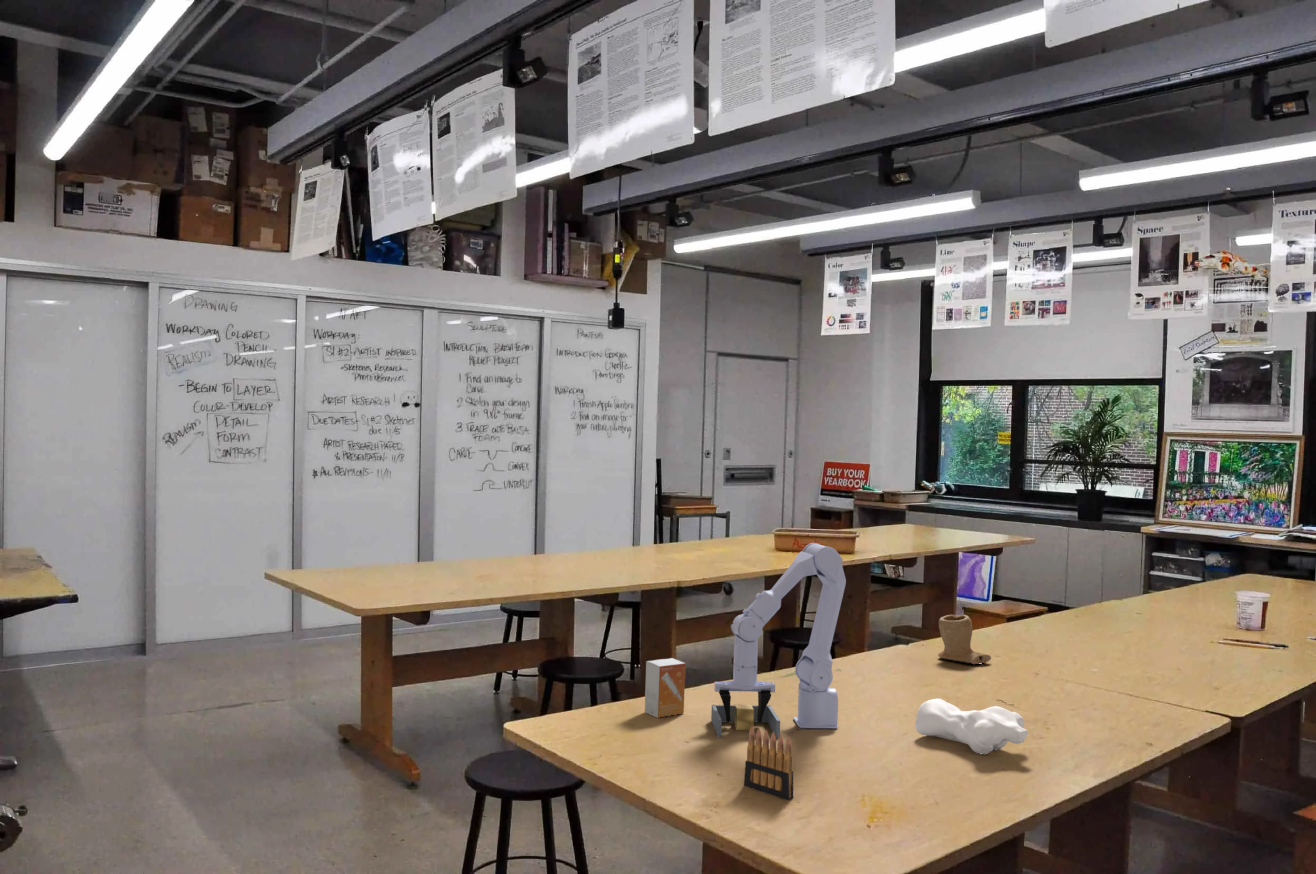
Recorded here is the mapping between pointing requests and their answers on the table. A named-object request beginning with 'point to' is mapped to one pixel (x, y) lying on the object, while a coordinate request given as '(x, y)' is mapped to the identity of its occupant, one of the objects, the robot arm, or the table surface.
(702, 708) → the table surface
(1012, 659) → the table surface
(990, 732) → the torso sculpture
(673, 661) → the small box
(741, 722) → the block
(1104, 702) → the table surface
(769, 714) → the u-shaped frame
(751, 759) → the ammunition clip
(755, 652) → the robot arm
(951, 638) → the tan textured boot shape
